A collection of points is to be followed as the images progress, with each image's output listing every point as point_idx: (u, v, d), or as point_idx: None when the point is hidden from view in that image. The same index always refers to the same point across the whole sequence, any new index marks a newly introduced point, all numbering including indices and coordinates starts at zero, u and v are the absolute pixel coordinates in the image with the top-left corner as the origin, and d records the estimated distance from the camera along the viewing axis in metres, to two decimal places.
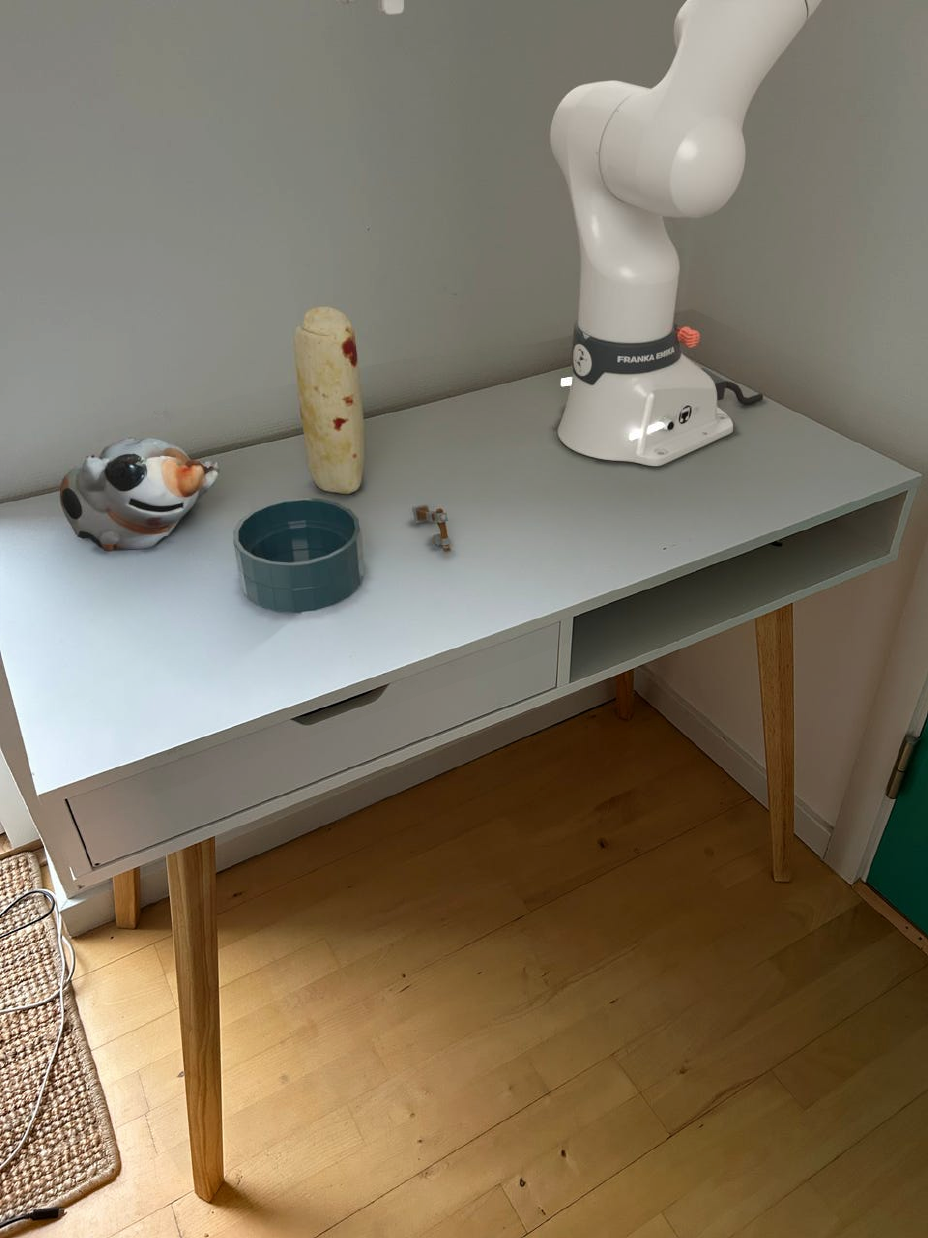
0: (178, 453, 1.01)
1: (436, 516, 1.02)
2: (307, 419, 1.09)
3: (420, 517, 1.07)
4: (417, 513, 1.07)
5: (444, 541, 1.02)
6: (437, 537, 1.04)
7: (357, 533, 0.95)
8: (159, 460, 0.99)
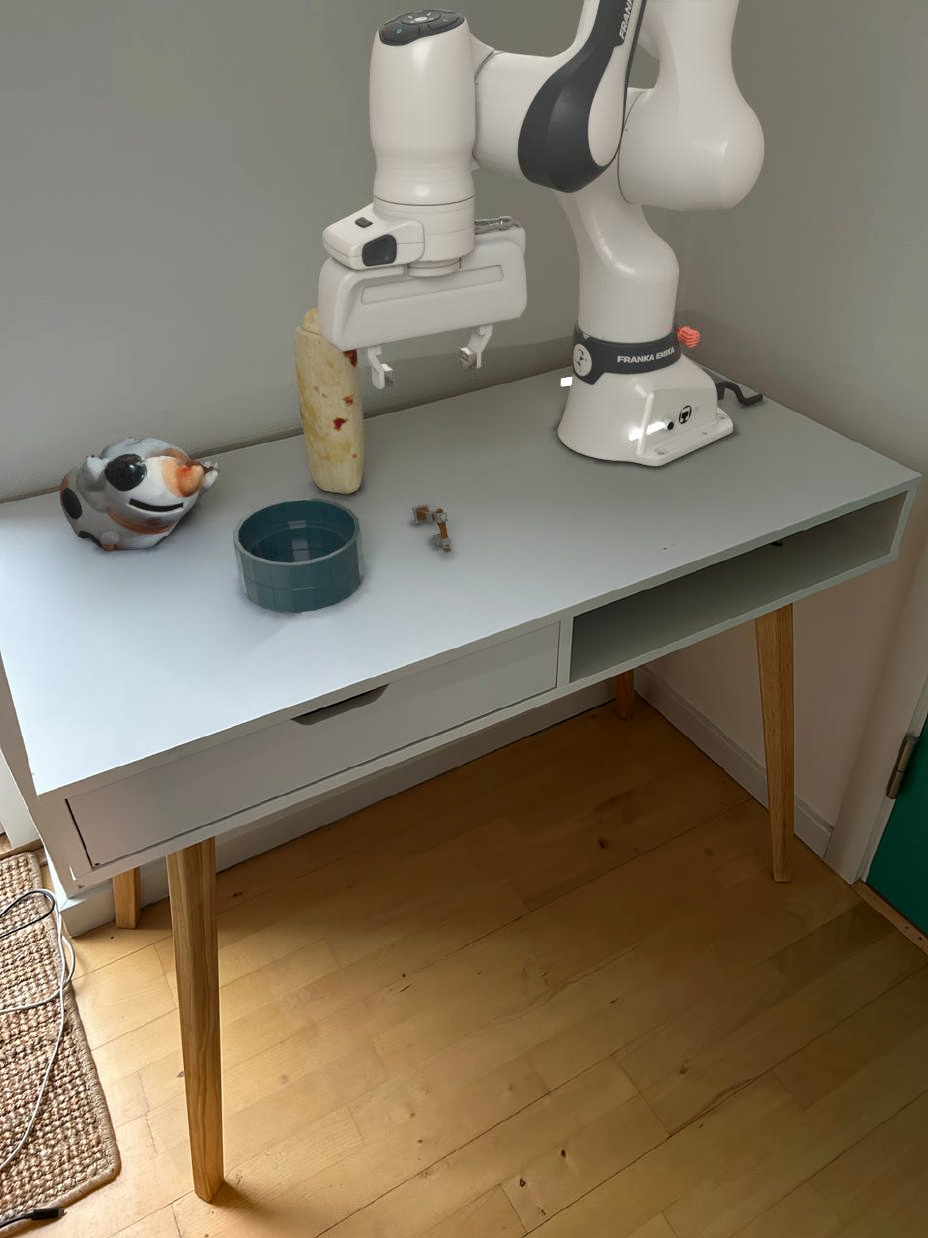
0: (178, 453, 1.01)
1: (436, 516, 1.02)
2: (307, 419, 1.09)
3: (420, 517, 1.07)
4: (417, 513, 1.07)
5: (444, 541, 1.02)
6: (437, 537, 1.04)
7: (357, 533, 0.95)
8: (159, 460, 0.99)
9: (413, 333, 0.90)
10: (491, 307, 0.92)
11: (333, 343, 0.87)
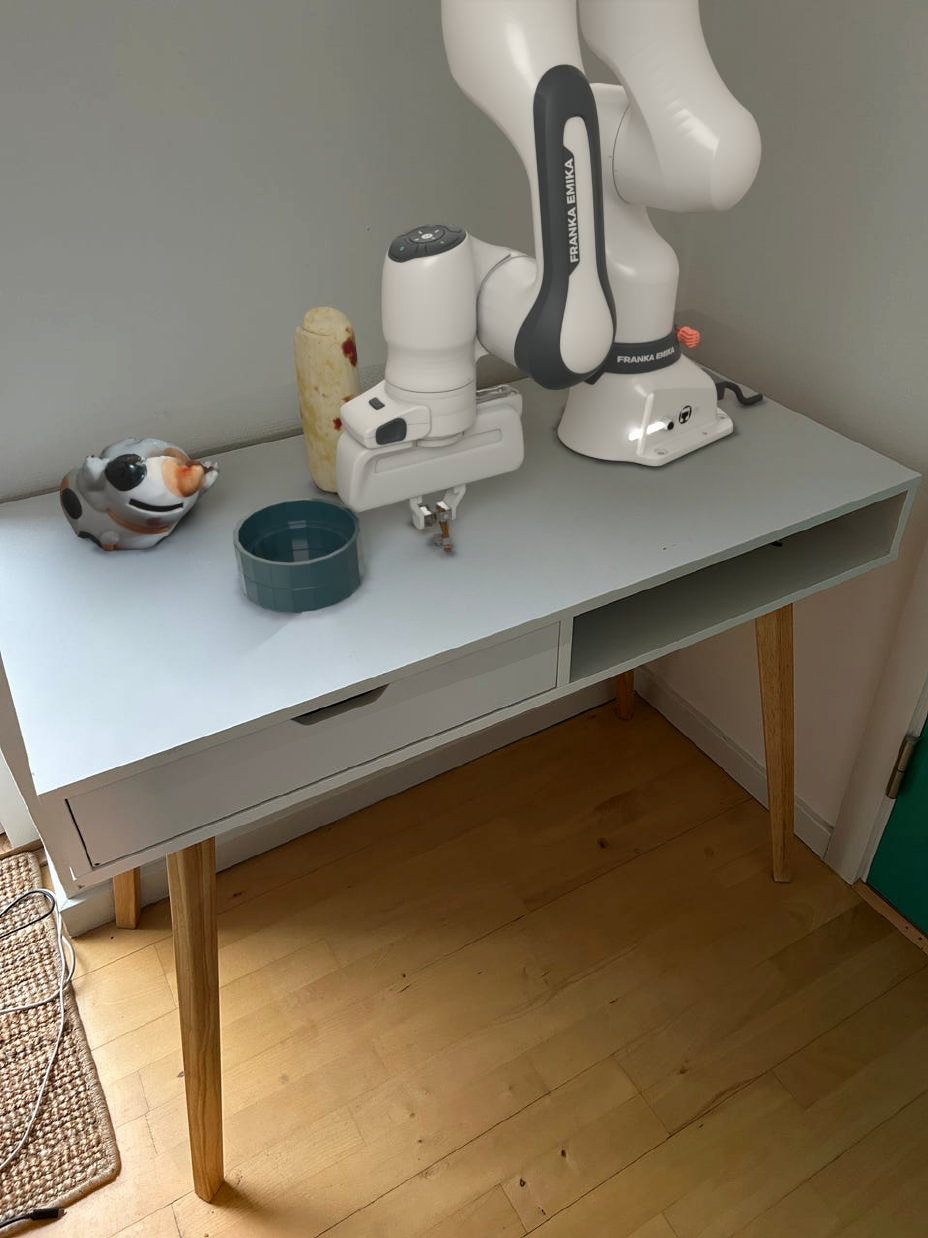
0: (178, 453, 1.01)
1: (438, 515, 1.02)
2: (307, 419, 1.09)
3: None
4: None
5: (445, 540, 1.02)
6: (438, 536, 1.03)
7: (357, 533, 0.95)
8: (159, 460, 0.99)
9: (421, 491, 1.00)
10: (491, 463, 1.02)
11: (349, 506, 0.97)
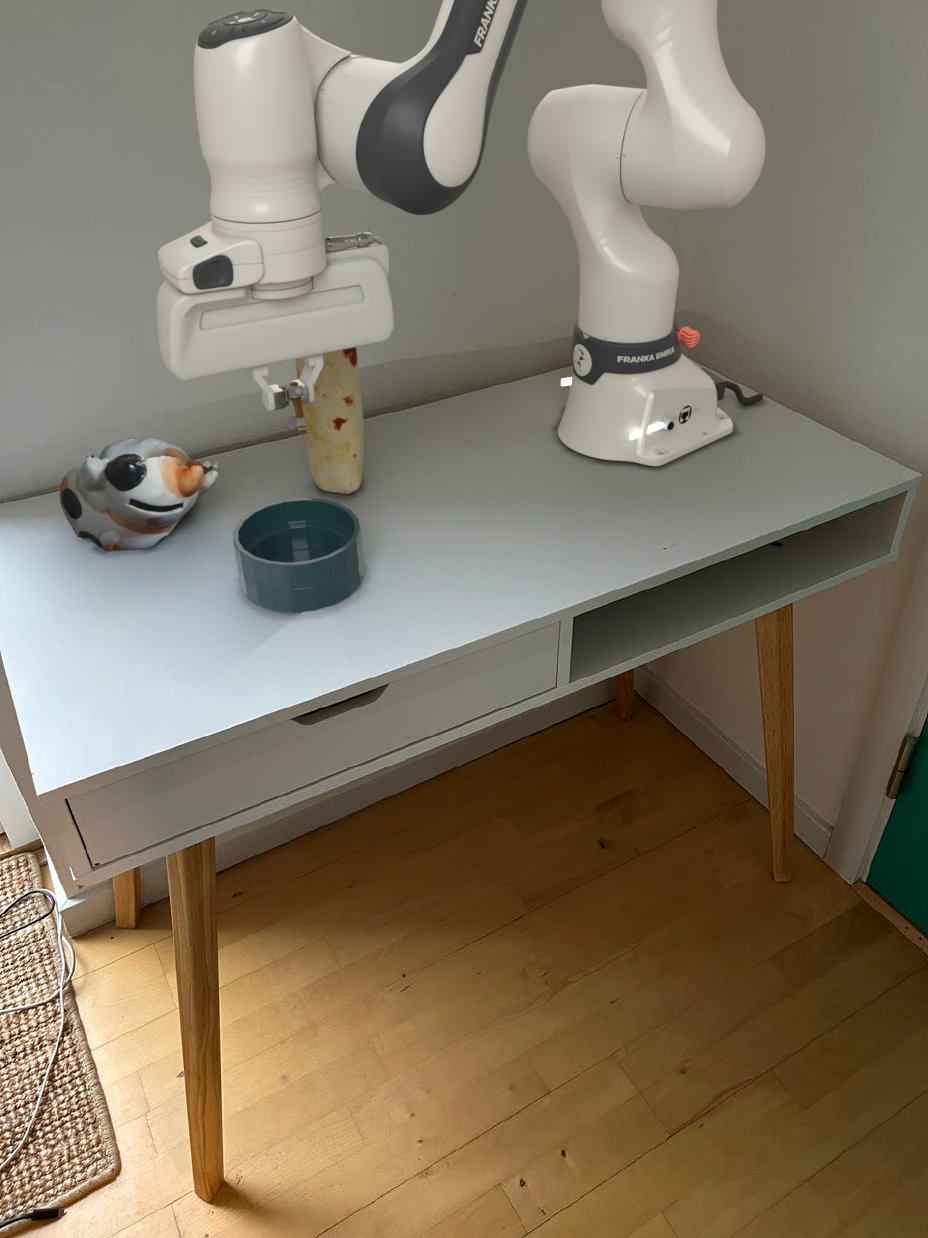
0: (178, 453, 1.01)
1: (290, 391, 0.85)
2: (307, 419, 1.09)
3: None
4: None
5: (299, 421, 0.85)
6: (292, 418, 0.87)
7: (357, 533, 0.95)
8: (159, 460, 0.99)
9: (264, 359, 0.83)
10: (352, 330, 0.85)
11: (172, 372, 0.80)
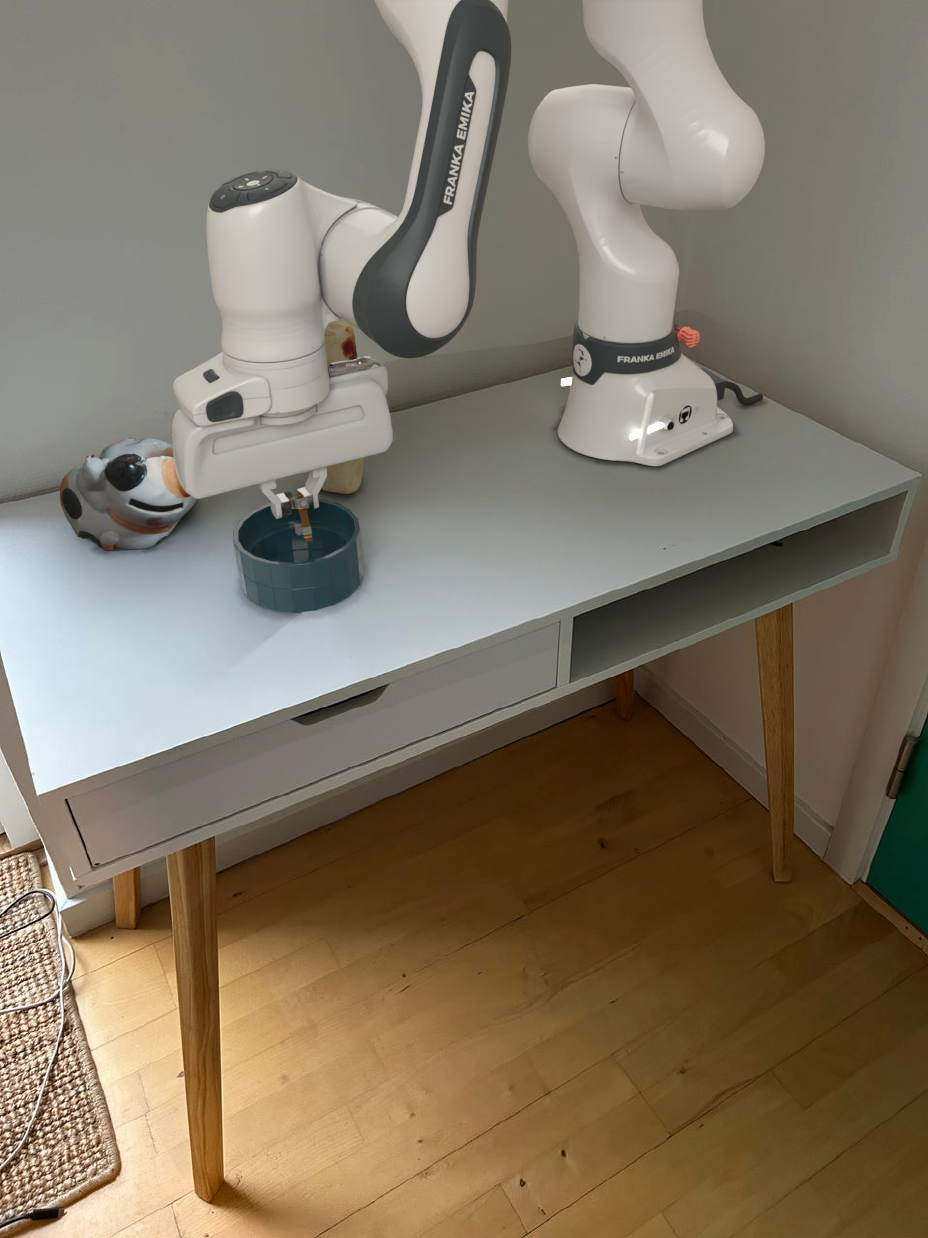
0: None
1: (296, 502, 0.91)
2: None
3: None
4: None
5: (305, 530, 0.92)
6: (298, 526, 0.93)
7: (357, 533, 0.95)
8: (159, 460, 0.99)
9: (272, 476, 0.89)
10: (354, 444, 0.92)
11: (187, 492, 0.86)
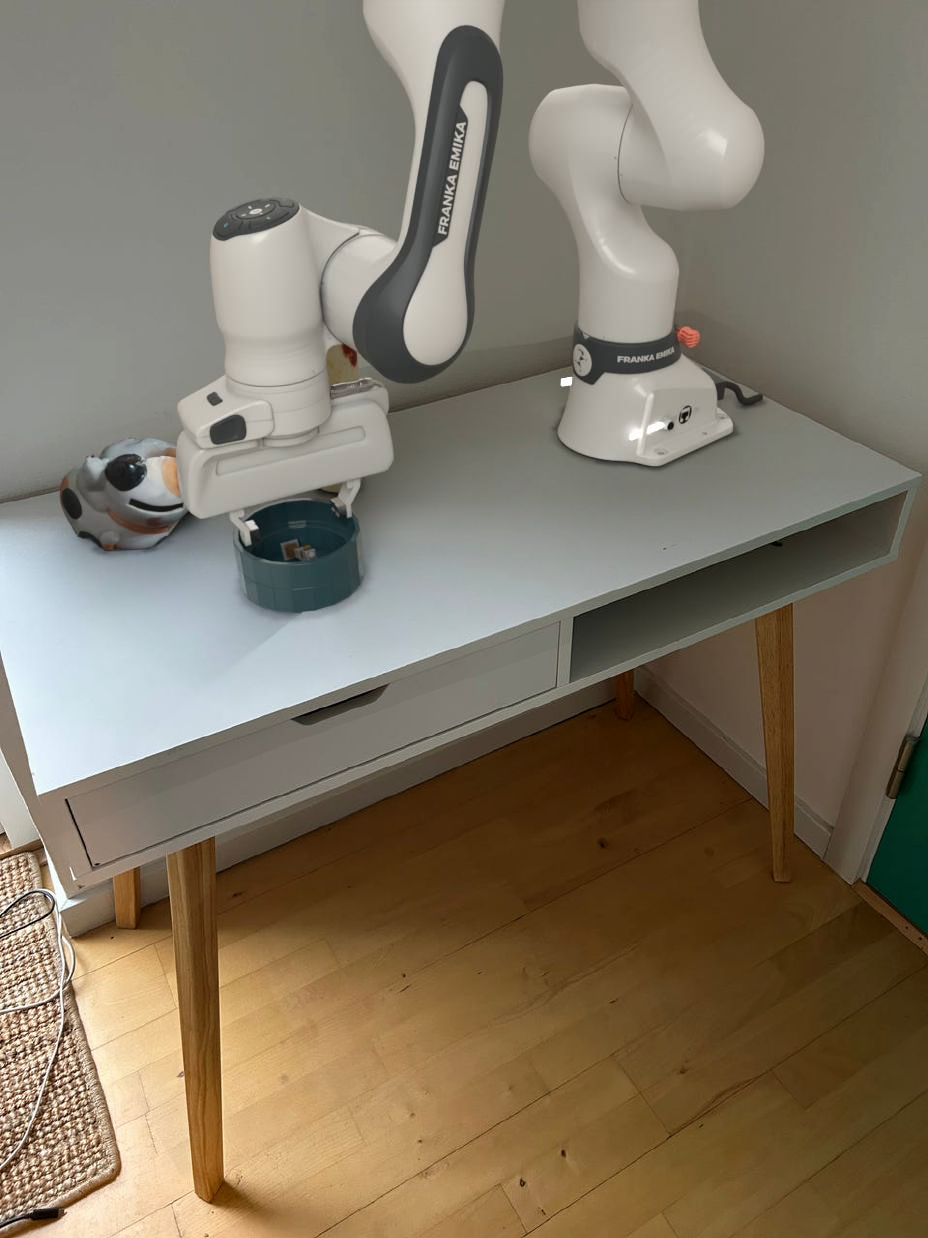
0: None
1: (304, 554, 0.95)
2: None
3: (289, 553, 1.01)
4: (286, 549, 1.01)
5: None
6: None
7: (357, 533, 0.95)
8: (159, 460, 0.99)
9: (274, 495, 0.91)
10: (355, 464, 0.93)
11: (191, 512, 0.88)
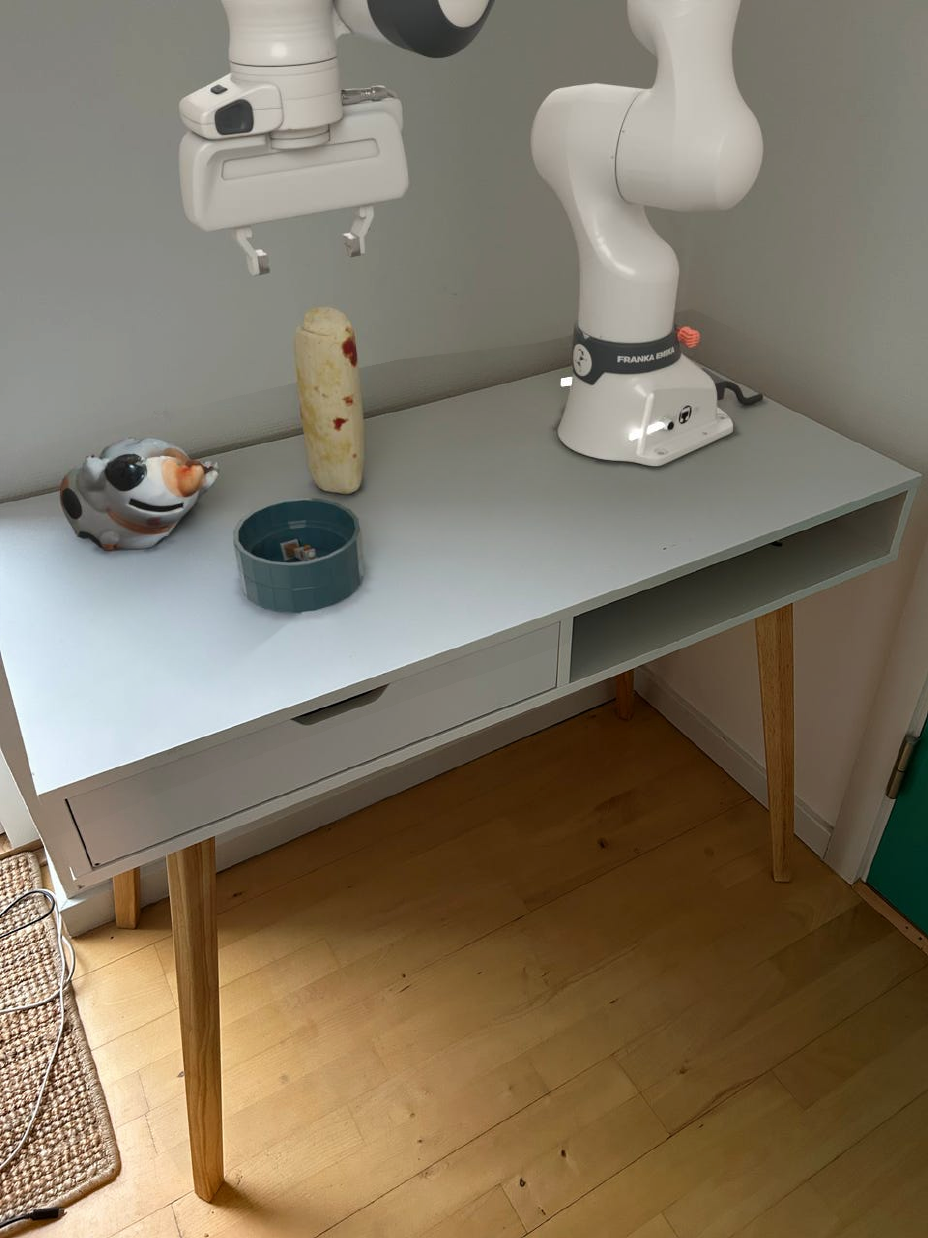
0: (178, 453, 1.01)
1: (304, 554, 0.95)
2: (307, 419, 1.09)
3: (289, 553, 1.01)
4: (286, 549, 1.01)
5: None
6: None
7: (357, 533, 0.95)
8: (159, 460, 0.99)
9: (284, 212, 0.85)
10: (368, 185, 0.88)
11: (196, 223, 0.83)
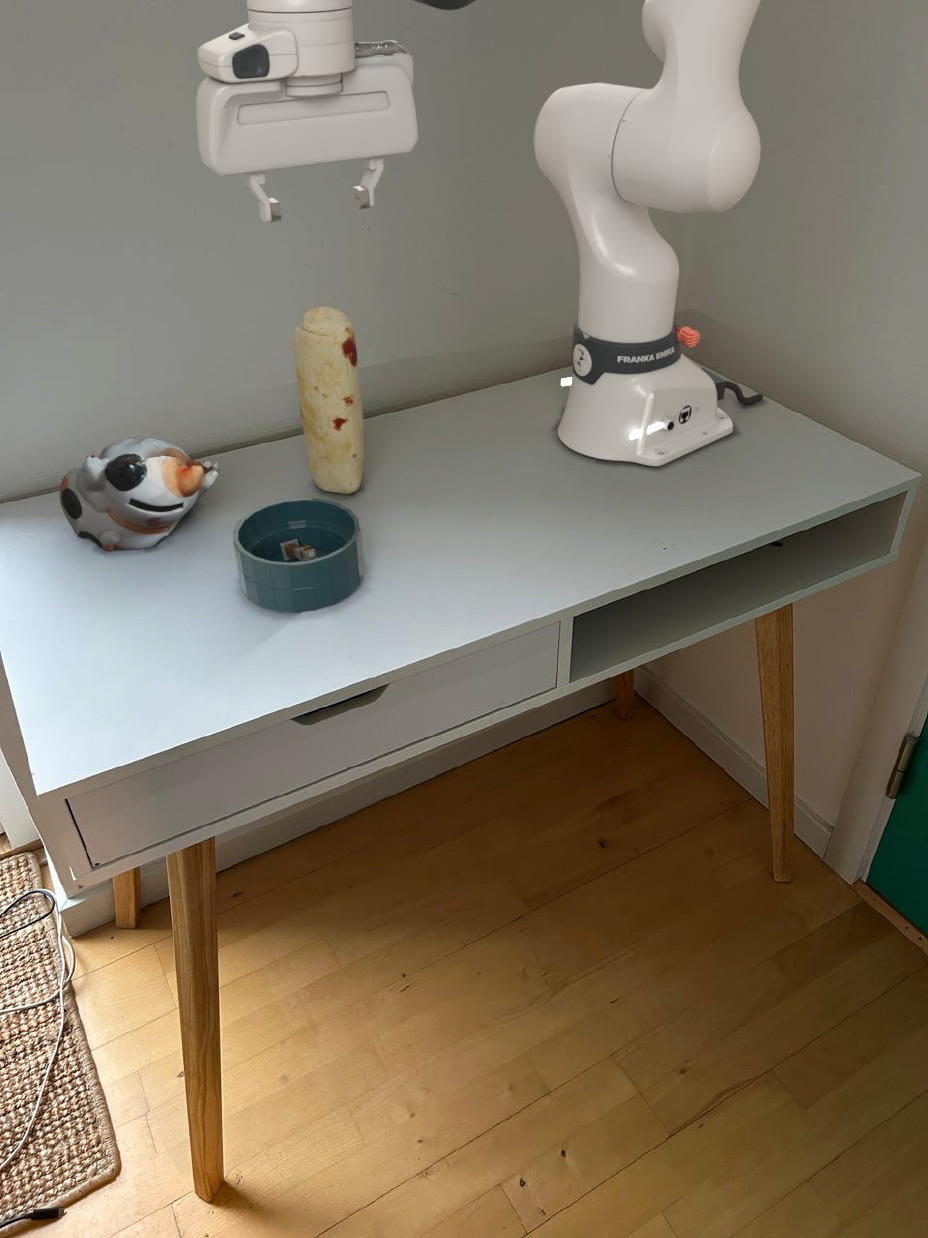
0: (178, 453, 1.01)
1: (304, 554, 0.95)
2: (307, 419, 1.09)
3: (289, 553, 1.01)
4: (286, 549, 1.01)
5: None
6: None
7: (357, 533, 0.95)
8: (159, 460, 0.99)
9: (296, 160, 0.88)
10: (379, 137, 0.91)
11: (211, 166, 0.85)
